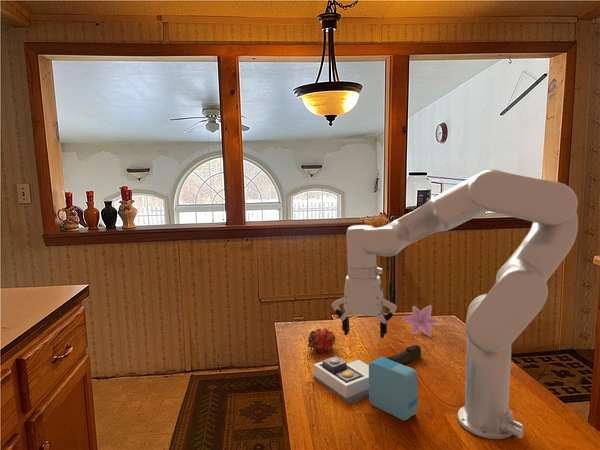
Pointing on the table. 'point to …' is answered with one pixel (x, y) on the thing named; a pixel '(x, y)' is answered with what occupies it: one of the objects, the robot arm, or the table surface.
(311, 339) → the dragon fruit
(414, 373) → the data package
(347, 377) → the tagged breaker
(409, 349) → the hand tool
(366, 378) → the board
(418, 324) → the lily
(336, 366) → the grey square block
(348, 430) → the table surface
